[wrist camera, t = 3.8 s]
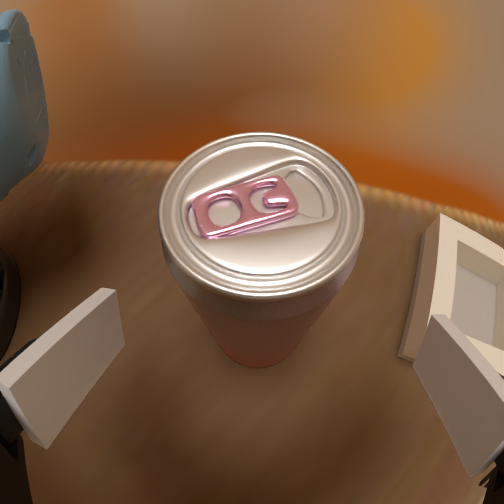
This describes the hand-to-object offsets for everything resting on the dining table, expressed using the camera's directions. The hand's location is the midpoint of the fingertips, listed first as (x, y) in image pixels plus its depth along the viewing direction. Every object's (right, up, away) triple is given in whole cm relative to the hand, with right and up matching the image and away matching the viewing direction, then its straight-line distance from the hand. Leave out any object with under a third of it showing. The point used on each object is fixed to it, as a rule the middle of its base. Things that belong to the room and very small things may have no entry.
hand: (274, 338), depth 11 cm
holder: (+18, -2, +10) cm, 21 cm away
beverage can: (0, -2, +10) cm, 10 cm away
